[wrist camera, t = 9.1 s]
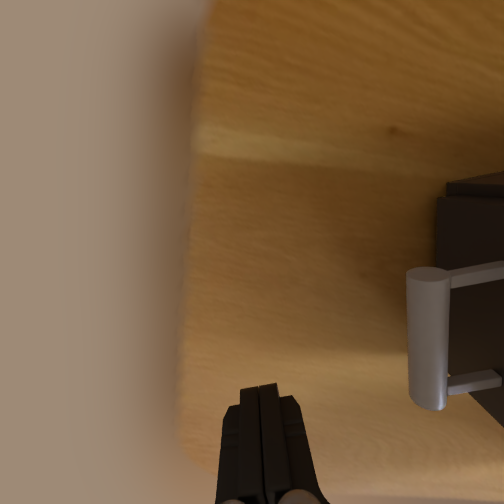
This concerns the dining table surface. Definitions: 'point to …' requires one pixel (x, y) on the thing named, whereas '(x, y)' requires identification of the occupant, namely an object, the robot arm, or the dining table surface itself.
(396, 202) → the dining table surface
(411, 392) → the drawer
